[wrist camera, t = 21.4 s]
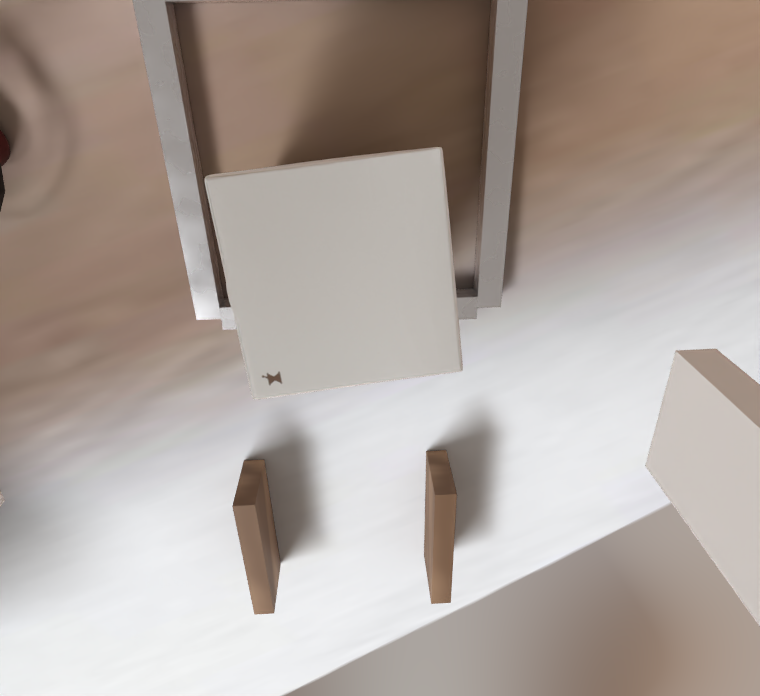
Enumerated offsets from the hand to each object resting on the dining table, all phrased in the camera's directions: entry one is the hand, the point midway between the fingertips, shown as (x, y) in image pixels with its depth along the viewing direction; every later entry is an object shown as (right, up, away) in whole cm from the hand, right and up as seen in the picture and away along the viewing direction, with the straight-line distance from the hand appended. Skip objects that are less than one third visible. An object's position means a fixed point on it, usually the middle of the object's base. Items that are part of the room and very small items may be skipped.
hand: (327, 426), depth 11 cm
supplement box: (-1, +9, +25) cm, 26 cm away
